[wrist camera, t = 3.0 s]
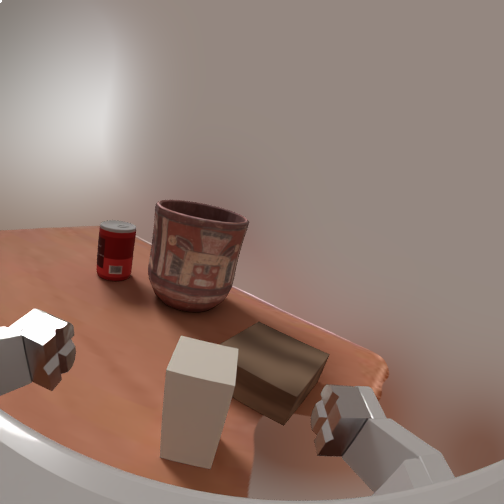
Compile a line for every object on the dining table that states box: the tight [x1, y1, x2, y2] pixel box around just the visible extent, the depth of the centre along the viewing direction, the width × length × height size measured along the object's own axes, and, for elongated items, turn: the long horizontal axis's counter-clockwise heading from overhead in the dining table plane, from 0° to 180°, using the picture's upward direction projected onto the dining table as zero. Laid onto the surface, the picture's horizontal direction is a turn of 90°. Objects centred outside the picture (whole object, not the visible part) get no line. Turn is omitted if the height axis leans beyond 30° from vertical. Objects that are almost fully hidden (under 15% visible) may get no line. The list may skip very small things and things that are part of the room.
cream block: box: [160, 336, 238, 469], centre depth 23 cm, size 5×5×12 cm
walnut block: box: [219, 322, 329, 425], centre depth 38 cm, size 12×12×5 cm
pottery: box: [148, 200, 249, 312], centre depth 56 cm, size 18×18×18 cm
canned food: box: [97, 221, 136, 281], centre depth 58 cm, size 8×8×11 cm
